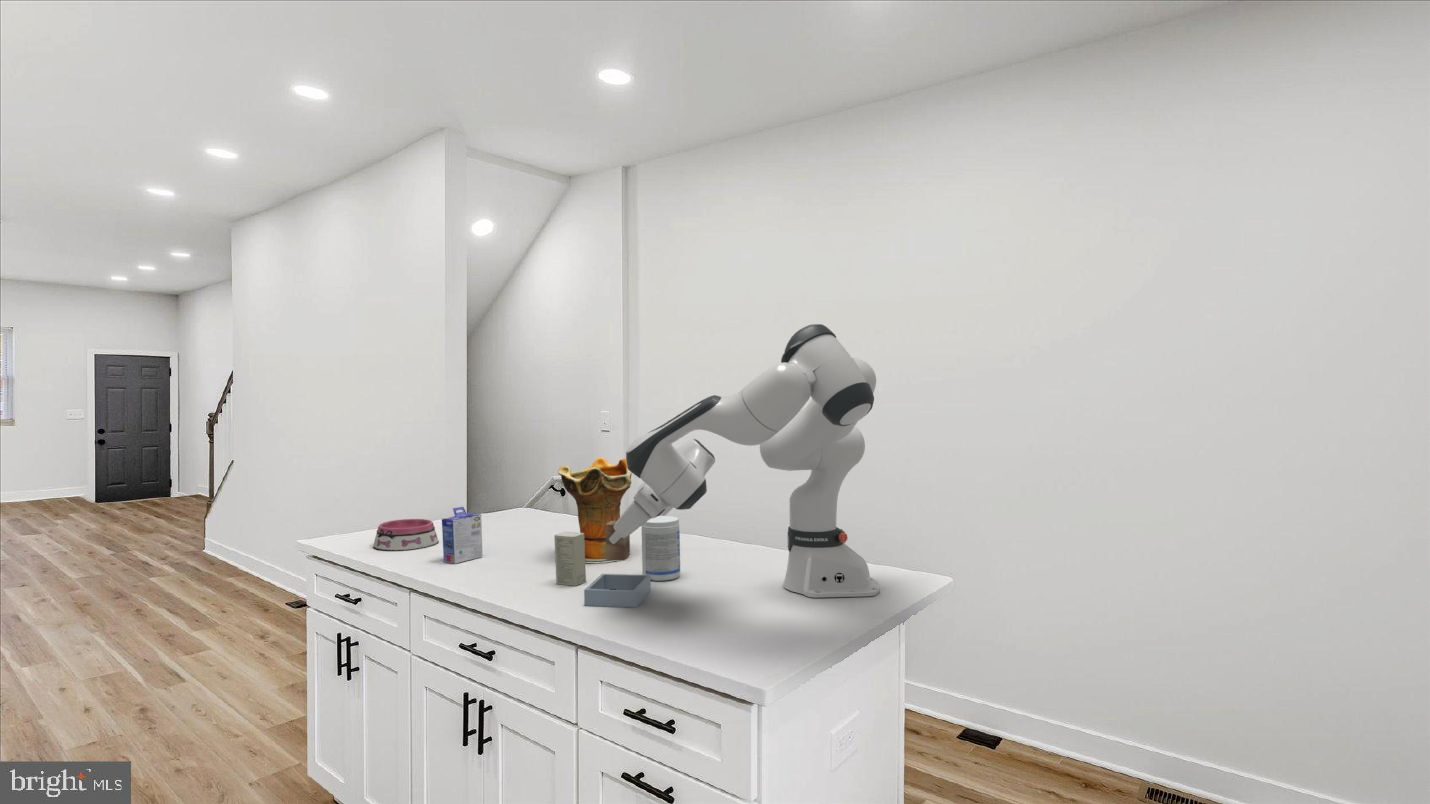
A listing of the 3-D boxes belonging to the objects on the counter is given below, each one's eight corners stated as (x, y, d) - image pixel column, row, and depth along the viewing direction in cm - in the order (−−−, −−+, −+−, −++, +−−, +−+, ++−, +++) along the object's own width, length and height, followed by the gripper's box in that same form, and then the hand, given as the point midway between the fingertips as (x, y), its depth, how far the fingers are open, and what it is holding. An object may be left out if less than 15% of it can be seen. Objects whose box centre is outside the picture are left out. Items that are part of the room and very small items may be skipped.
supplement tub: (687, 578, 184) (686, 519, 184) (653, 584, 179) (653, 523, 178) (668, 570, 192) (667, 513, 192) (635, 575, 187) (634, 517, 186)
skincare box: (586, 582, 181) (585, 533, 181) (575, 586, 177) (575, 536, 177) (565, 579, 184) (564, 531, 183) (554, 583, 180) (553, 534, 179)
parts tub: (650, 589, 174) (650, 575, 174) (636, 607, 160) (636, 591, 160) (602, 588, 176) (601, 573, 175) (584, 605, 162) (584, 589, 162)
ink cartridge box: (470, 554, 211) (469, 504, 211) (483, 557, 208) (483, 506, 208) (441, 561, 203) (440, 509, 202) (454, 564, 200) (453, 511, 199)
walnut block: (629, 555, 170) (629, 521, 170) (624, 560, 166) (624, 525, 165) (611, 555, 171) (611, 520, 170) (605, 559, 166) (605, 524, 166)
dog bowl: (451, 541, 230) (451, 519, 230) (404, 554, 213) (403, 531, 213) (408, 536, 237) (408, 515, 237) (359, 549, 221) (358, 526, 220)
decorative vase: (543, 562, 199) (545, 459, 200) (583, 548, 221) (584, 455, 222) (614, 568, 193) (615, 461, 194) (647, 552, 215) (648, 457, 216)
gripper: (656, 480, 177) (617, 519, 179) (636, 494, 157) (592, 538, 158) (675, 498, 176) (636, 538, 178) (656, 515, 156) (612, 559, 158)
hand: (615, 538), depth 168 cm, fingers closed on walnut block, 4 cm apart
